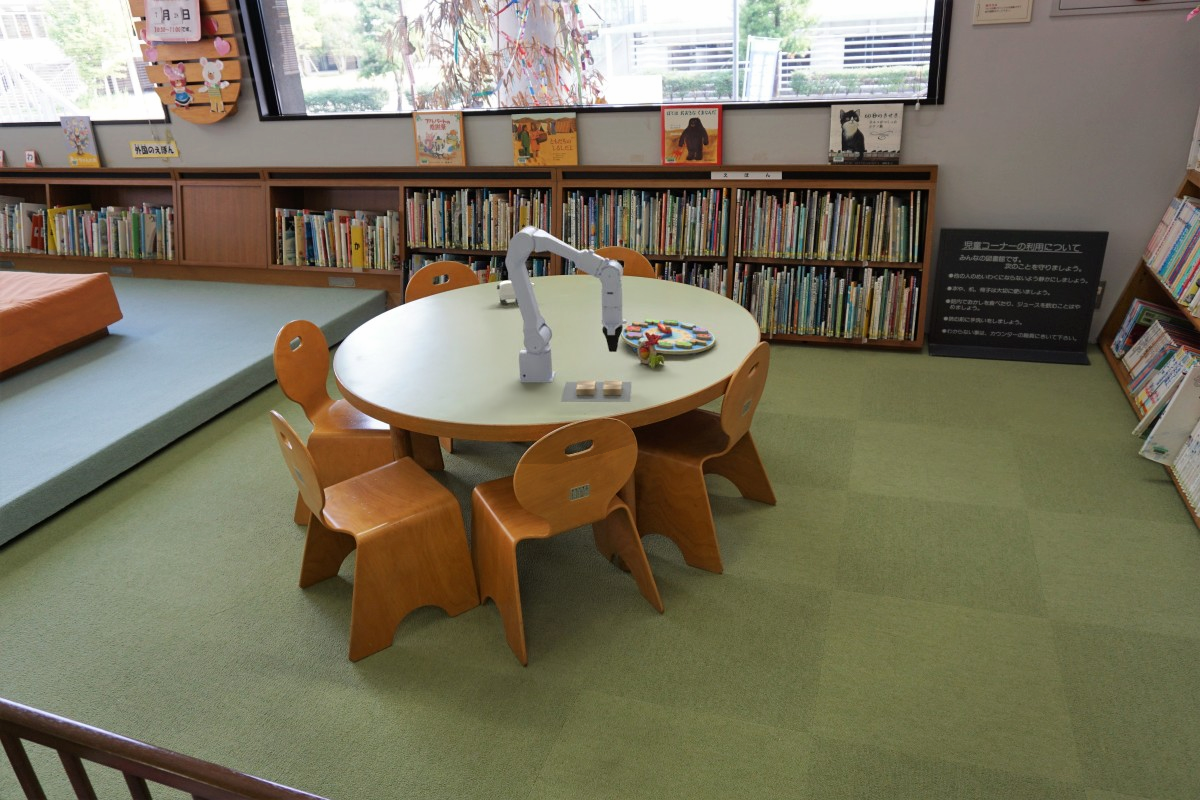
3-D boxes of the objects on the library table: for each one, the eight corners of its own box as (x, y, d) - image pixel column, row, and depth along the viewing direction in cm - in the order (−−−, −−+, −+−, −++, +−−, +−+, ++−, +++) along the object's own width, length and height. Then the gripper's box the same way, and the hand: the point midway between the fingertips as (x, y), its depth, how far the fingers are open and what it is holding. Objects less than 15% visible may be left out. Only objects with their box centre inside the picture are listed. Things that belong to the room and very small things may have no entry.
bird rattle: (636, 373, 246) (657, 368, 239) (625, 338, 245) (646, 332, 238) (649, 367, 250) (670, 362, 244) (638, 333, 249) (659, 327, 242)
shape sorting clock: (711, 362, 248) (711, 343, 246) (613, 357, 254) (613, 339, 252) (717, 330, 276) (718, 313, 273) (629, 327, 282) (629, 310, 279)
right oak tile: (604, 387, 230) (603, 395, 225) (604, 380, 229) (603, 389, 224) (622, 387, 230) (621, 395, 224) (622, 380, 229) (621, 389, 224)
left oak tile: (578, 387, 231) (576, 395, 225) (578, 380, 230) (576, 389, 224) (595, 387, 230) (594, 395, 225) (595, 380, 230) (594, 389, 224)
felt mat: (560, 402, 222) (560, 401, 222) (565, 383, 235) (565, 382, 235) (629, 402, 221) (629, 401, 221) (631, 383, 234) (631, 381, 233)
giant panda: (498, 306, 308) (496, 281, 304) (497, 302, 313) (495, 278, 309) (536, 302, 311) (535, 278, 307) (534, 299, 316) (533, 275, 312)
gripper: (625, 312, 219) (626, 359, 224) (627, 297, 232) (627, 342, 238) (599, 313, 220) (600, 359, 225) (602, 297, 233) (603, 342, 238)
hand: (613, 351), depth 231 cm, fingers closed
